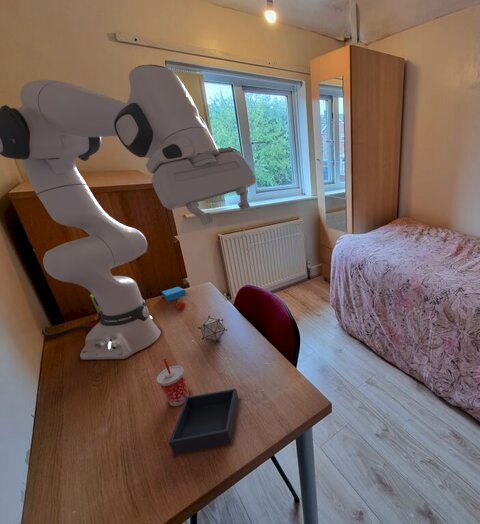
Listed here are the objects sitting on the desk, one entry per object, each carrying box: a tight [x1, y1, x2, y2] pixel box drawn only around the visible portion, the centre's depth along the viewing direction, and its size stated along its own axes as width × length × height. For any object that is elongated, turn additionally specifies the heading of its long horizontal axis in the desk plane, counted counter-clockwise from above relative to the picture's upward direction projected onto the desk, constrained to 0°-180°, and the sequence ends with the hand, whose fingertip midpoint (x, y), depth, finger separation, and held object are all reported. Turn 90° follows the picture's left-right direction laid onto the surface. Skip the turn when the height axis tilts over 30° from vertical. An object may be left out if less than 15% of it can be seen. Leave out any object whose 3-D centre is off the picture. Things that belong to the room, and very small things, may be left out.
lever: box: [161, 286, 187, 310], centre depth 123 cm, size 7×7×18 cm
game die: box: [197, 315, 228, 343], centre depth 99 cm, size 9×8×10 cm
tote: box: [168, 388, 240, 456], centre depth 70 cm, size 12×12×4 cm
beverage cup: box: [156, 358, 190, 407], centre depth 75 cm, size 6×6×14 cm
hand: (228, 215), depth 60 cm, fingers open, 8 cm apart
